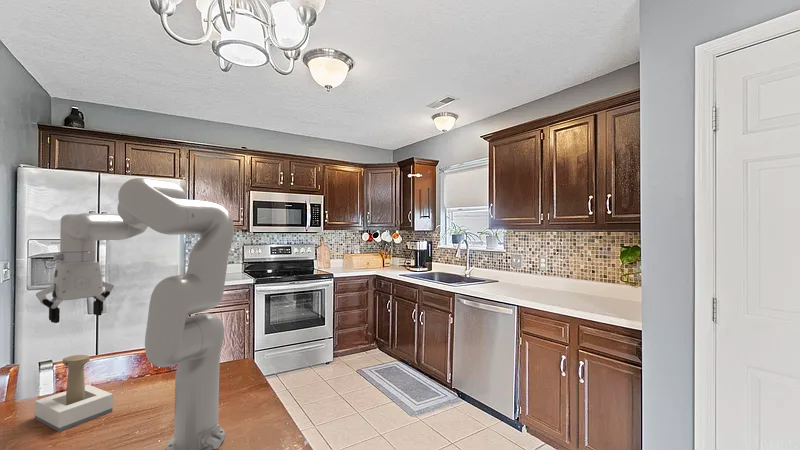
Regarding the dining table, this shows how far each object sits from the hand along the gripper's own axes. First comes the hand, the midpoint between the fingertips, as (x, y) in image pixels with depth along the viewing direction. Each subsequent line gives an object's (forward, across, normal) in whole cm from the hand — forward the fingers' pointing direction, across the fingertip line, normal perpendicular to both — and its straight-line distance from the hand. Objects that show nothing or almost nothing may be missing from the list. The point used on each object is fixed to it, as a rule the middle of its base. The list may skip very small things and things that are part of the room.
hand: (77, 318), depth 103 cm
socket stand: (+27, 0, 0) cm, 27 cm away
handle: (+26, 0, 0) cm, 26 cm away
